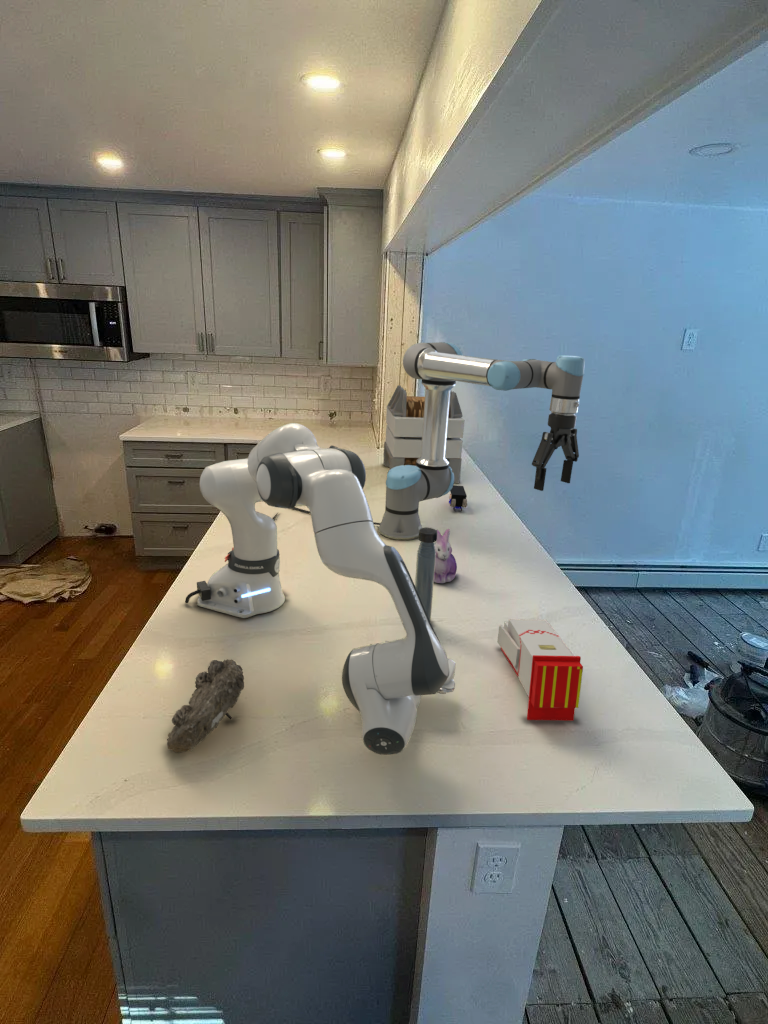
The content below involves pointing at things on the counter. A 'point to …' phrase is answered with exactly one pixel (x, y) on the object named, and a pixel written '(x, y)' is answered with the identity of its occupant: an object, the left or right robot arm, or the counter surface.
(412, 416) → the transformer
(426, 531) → the cap
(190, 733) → the fossil
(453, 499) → the figurine character
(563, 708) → the toy
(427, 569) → the bottle
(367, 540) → the left robot arm
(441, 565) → the figurine
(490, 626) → the counter surface
